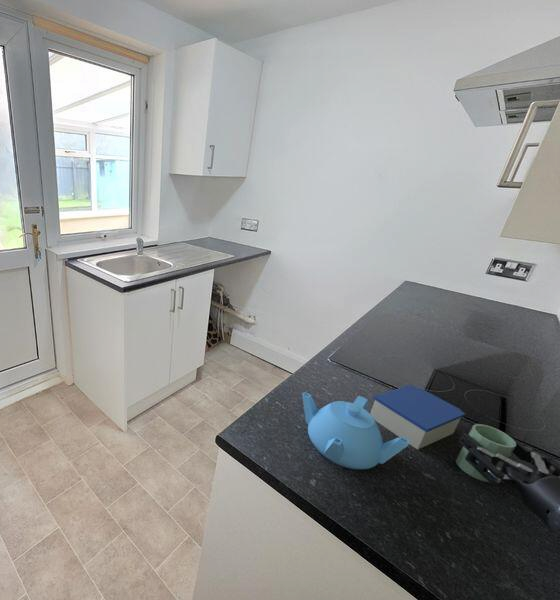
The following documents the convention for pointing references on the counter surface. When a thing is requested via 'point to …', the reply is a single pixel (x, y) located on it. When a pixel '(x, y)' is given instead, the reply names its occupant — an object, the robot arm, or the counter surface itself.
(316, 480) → the counter surface
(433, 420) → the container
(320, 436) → the teapot
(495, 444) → the utensil cup
